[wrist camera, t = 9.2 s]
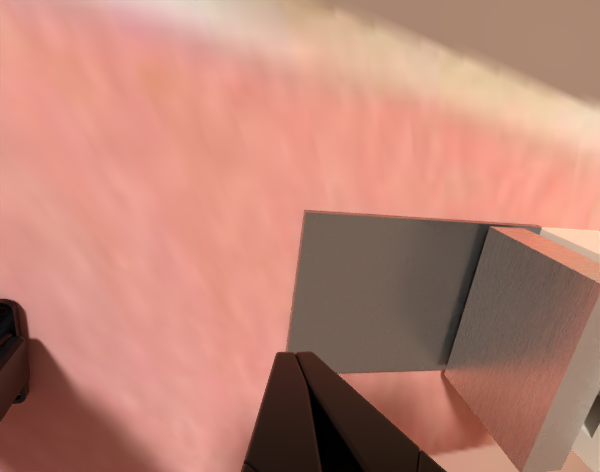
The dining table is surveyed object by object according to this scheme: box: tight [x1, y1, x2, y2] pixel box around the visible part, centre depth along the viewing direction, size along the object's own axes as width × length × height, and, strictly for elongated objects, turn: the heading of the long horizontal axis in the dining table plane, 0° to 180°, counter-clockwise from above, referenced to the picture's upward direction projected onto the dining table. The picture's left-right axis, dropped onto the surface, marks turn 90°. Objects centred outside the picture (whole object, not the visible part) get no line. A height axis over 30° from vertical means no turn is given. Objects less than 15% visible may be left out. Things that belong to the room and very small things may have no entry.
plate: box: [286, 210, 542, 373], centre depth 25 cm, size 16×11×1 cm
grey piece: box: [444, 226, 600, 472], centre depth 22 cm, size 8×11×8 cm
